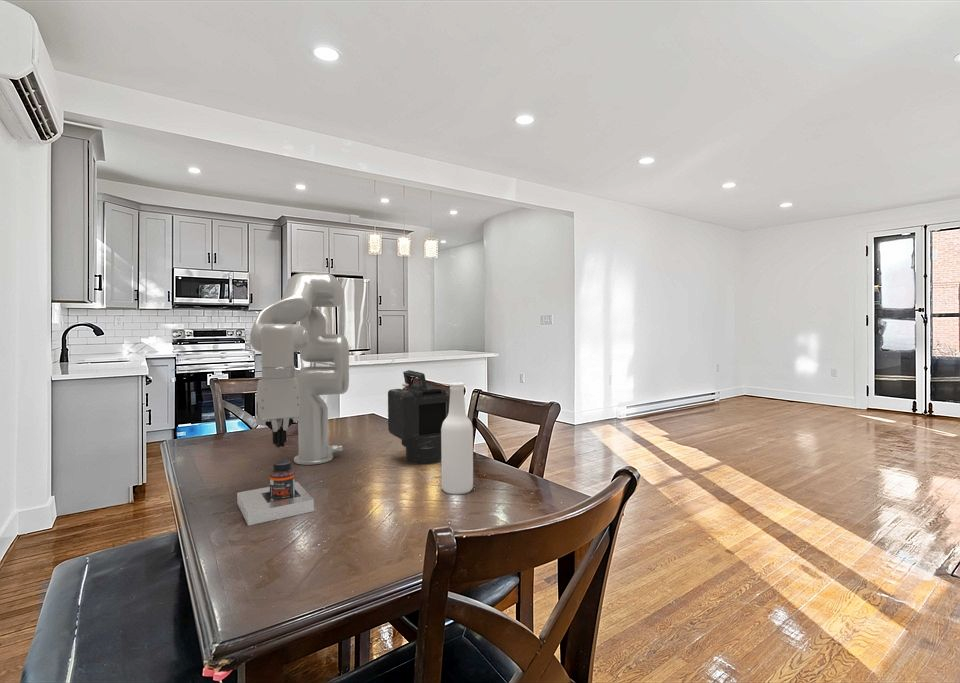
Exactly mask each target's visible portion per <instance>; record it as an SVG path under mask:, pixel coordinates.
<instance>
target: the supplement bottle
mask: <svg viewBox="0 0 960 683" xmlns="http://www.w3.org/2000/svg"><path fill="white" fill-rule="evenodd" d="M295 474H296V473H295V470H294V469H293V468H292V467H291V461H290V460H287V459H285V460H284V459H283V460H278V461H275V462H273V470H271V472H270V473H269V487H270V502H275V501H280V500H285V499H290V498H295V482H296V481H295V480H296V478H295V476H296V475H295Z"/></svg>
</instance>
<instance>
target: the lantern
mask: <svg viewBox="0 0 960 683" xmlns="http://www.w3.org/2000/svg"><path fill="white" fill-rule="evenodd" d="M402 373H403V378H404V383H402V385H401V386H402V388H394V389H393V388H392V389H389V390H388V391H387V430H388V432H389V433H390V434H391V435H392V436H394V437H396V438H398V439H400V440H401V446H403V447H405V460H406V462H408V463H409V464H415V465H431V464H436V463H438V462H440V461H441V428H442V424H443V421H444V420H445V419H446V418H447V416H448V413H449V401H450V394H449V395H448V391H447V390H446V389H444V388H441V387H437V386H432V385H429V384H427V381H426V374H425V373H423V372H419V371H414V370H410V369H409V370H405V371H402ZM412 377H414V378H417V379H418V384H413V380H412Z"/></svg>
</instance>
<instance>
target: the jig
mask: <svg viewBox="0 0 960 683" xmlns="http://www.w3.org/2000/svg"><path fill="white" fill-rule="evenodd" d="M236 500H237V501H236V502H237V506H238V508H239V510H240V512H241V514H242V516H243V519H244V520H245V523H246V524H247V526H254V525H257V524H262V523H267V522H272V521H275V520H281V519H285V518H290V517H295V516H298V515H303V514H308V513H312V512H314V511H315V503H314V502H315V499H314V498H313V497H312V496H311V495H310V493H308V492H307V490H306V489H305V488H304V487H303V486H302V485H301V484H300V483H299V482H298V481H295V498H290V499H285V500H280V501H275V502H270V486H266V487H261V488H256V489H255V488H254V489H250V490H245V491H240V492H237V493H236Z"/></svg>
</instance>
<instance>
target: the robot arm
mask: <svg viewBox="0 0 960 683" xmlns="http://www.w3.org/2000/svg"><path fill="white" fill-rule="evenodd" d="M343 302H344V288H343V286H342V284H341V283H340V281H339V280H338V279H337V277H336V276H334V275H333V274H331V273H324V272H323V273H322V272H321V273H320V272H317V273H315V272H311V273H310V272H300V273H296V274H293V275H292V276H291V277H290V278H289V280H288V282H287V284H286V287H285V290H284V293H283V295H282V298H281V299H279V300H278V301H275V302H274V303H272V304H271V305H269V306H267V307H266V308H264V309H262V310H261V311H260V312H259V313H257V316H256V318H255V320H254V322H253V325H252V327H251V331H250V334H249V335H250V336H249V340H250V345H251V347H252V349H254V350H255V351H257V352H260V353H261V379H258V380H257V381H258V382H257V387H256V394H255V395H256V397H255V415H256V421H255V424H256V425H257V426H264V427H267V428H269V429H270V430H271V431H272V432H271V433H272V444H274V446H275V447H276V448H280V447H282V448H284V447H285V443H287V430H289V428H290V427H291V425H292V424H293V423H297V427H298V428H297V429H298V430H297V431H298V434H297V435H298V440H297V441H298V454H297V455H295V456H294V457H293V462H294V463H295V464H298V465H304V466H305V465H307V466H310V465H311V466H312V465H319V464H320V465H321V464H324V463H328V462H330V461H332V460H333V459H334V452H343V451H344V450H343V449H344V448H343V445H342V444H341V445H336V444H334V445H330V444H329V421H328V420H329V415H328V414H329V412H328V411H329V410H328V406H327V403H326V402H325V401H324V399H323V398H322V397H321V396H326V395H327V396H328V395H330V396H331V395H343V394H346V393H347V392H348V389H349V386H350V384H349V383H350V348H349V343H348V339H347V337H346V336H344V335H343V334H339V333H336V334H333V333H332V334H331V333H329V334H328V333H327V320H326V318H325V316H324V315H323V313H322V312H321V311H320V309H318V308H337V307H339V306H341V305H342V304H343ZM297 322H299V323H297ZM296 352H299V357H300V359H301V360H302V361H303V362H306V363H333V364H334V365H332V366H322V365H321V366H318V365H317V366H314V365H313V366H304V367H300V368H299V367H298V368H297V367H296V366H295V353H296ZM277 420H280V426H278V421H277Z"/></svg>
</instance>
